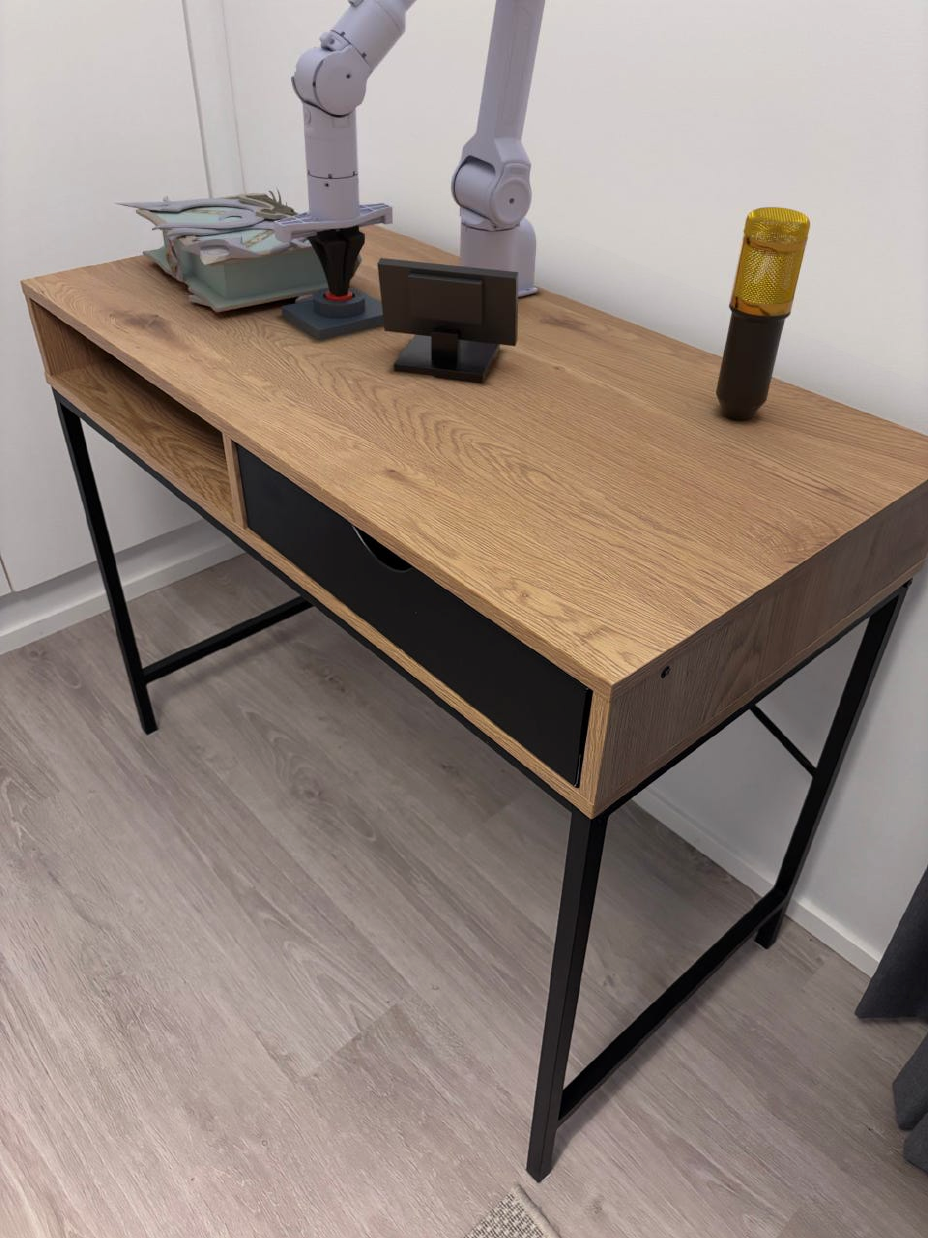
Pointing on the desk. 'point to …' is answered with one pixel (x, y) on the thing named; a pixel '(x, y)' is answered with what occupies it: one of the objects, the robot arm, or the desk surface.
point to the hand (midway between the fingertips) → (338, 293)
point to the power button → (334, 298)
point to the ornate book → (233, 250)
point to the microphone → (760, 306)
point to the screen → (449, 300)
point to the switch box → (335, 314)
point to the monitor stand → (447, 356)
